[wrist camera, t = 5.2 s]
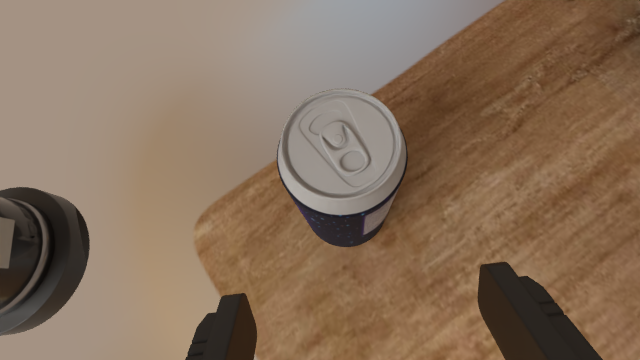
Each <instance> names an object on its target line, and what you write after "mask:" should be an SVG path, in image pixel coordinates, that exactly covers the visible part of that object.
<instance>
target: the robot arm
mask: <svg viewBox="0 0 640 360" xmlns="http://www.w3.org/2000/svg"><path fill="white" fill-rule="evenodd" d="M53 253H54V232H53V228H52V225H51V223H50V221H49V219H48V217H47V216H46V214H45V213H44V212H43V211H42V210H41V209H39V208H38V207H36V206H35V205H33V204H30V203H27V202H23V201H20V200H16V199H10V198H3V197H0V316H3V315H5V314H7V313H9V312H11V311H13V310H15V309H16V308H18V307H19V306H20V305H22V304H23V303H24V302H25V301H26V300H28V299H29V298H30V297H31V296H32V294H33V293H34V292H35V291H36V290H37V288H38V287H39V286H40V284H41V283H42V281H43V280H44V278H45V276H46V274H47V272H48V270H49V267H50V264H51V262H52V258H53ZM478 305H479V309H480V312H481V315H482V317H483V319H484V321H485V323H486V325H487V326H488V328H489V330H490V332H491V334H492V336H493V338H494V339H495V341H496V343H497V345H498V347H499V349H500V350H501V352H502V354H503V356H504V358H505V360H603V359H602V358H601V357H600V356H599V355H598V353H597V352H596V351H595V350H594V349H593V347H592V346H591V345H590V344H589V342H588V341H587V340H586V339H585V338H584V336H583V335H582V334H581V333H580V331H579V330H578V329H577V328H576V327H575V325H574V324H573V323H572V322H571V320H570V319H569V318H568V317H567V316H566V315H564V313H563V311H562V309H561V308H560V307H559V306H558V305H557V303H555V302H554V300H553V298H552V297H551V296H550V295H549V294H548V292H547V291H546V290H545V289H544V287H543V286H541V285H540V284H538V283H537V282H535V281H534V280H532V279H531V278H529V277H528V276H522V277H518V276H517V274H516V273H515V272H514V270H513V269H512V268H511V266H510V265H509V264H508V263H507V262H499V263H491V264H483V265H481V267H480V274H479V287H478ZM256 342H257V329H256V323H255V320H254V317H253V314H252V311H251V308H250V305H249V302H248V299H247V296H246V294H245V293H241V294H233V295H225V296H222V297H221V299H220V302H219V305H218V309H217V312H216V313H208V314H207V315H206V317H205V318H204V319H203V321H202V322H201V323H200V324H199V326H198V327H197V329H196V332H195V335H194V338H193V340H192V344H191V345H190V348H189V351H188V356H187V357H186V359H185V360H253V359H254V354H255V348H256Z"/></svg>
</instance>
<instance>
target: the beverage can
mask: <svg viewBox="0 0 640 360" xmlns="http://www.w3.org/2000/svg"><path fill="white" fill-rule="evenodd" d="M407 158H408V156H407V146H406V141H405V138H404V135H403V133H402V131H401V129H400V127H399V125H398V122H397V120H396V119H395V117H394V115H393V114H392V112H391V111H390V110H389V109H388V107H386V106H385V105H384V104H383V103H382V102H381V101H379V100H378V99H376V98H375V97H373V96H371V95H369V94H367V93H364V92H361V91H358V90H352V89H332V90H327V91H323V92H320V93H318V94H315V95H313V96H311V97H310V98H308V99H306V100H305V101H303V102H302V103H301V104H300V105H298V107H296V109H295V110H294V111H293V112H292V113H291V114H290V116H289V117H288V119H287V121H286V123H285V125H284V127H283V131H282V134H281V138H280V141H279V145H278V150H277V166H278V172H279V175H280V178H281V181H282V183H283V185H284V187H285V188H286V190H287V191H288V193H289V194H290V196H291V197H292V199H293V201H294V202H295V204H296V205H297V207H298V208H299V210H300V211H301V213H302V214H303V216H304V217H305V219H306V220H307V222H308V223H309V225H310V226H311V228H312V230H313V231H314V232H315V233H316V234H317V235H318V236H319V237H320V238H321V239H322V240H324V241H326V242H327V243H329V244H332V245H335V246H340V247H352V246H357V245H360V244H363V243H365V242H367V241H368V240H370V239H371V238H372V237H374V236H375V235H376V234H377V232H378V231H379V230H380V228H381V227H382V225H383V223H384V220H385V218H386V216H387V213H388V211H389V209H390V207H391V204H392V202H393V200H394V198H395V195H396V193H397V191H398V189H399V186H400V184H401V182H402V180H403V177H404V174H405V171H406V167H407Z"/></svg>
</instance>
